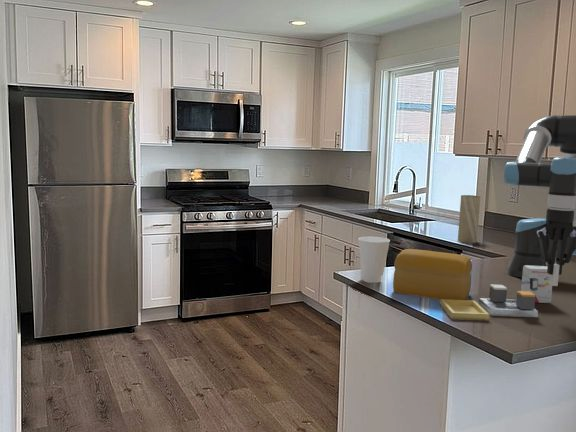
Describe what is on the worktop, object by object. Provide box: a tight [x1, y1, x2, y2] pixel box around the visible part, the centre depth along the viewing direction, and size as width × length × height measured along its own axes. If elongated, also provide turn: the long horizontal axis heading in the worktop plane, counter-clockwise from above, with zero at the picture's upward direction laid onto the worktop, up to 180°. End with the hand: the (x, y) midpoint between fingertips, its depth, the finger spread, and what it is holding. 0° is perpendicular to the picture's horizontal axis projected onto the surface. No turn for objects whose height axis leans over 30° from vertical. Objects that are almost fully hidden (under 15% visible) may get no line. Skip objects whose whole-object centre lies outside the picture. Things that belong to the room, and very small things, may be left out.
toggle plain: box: [488, 283, 508, 302], centre depth 174 cm, size 4×4×5 cm
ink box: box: [520, 265, 553, 304], centre depth 181 cm, size 9×5×12 cm, turn 90°
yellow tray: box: [439, 299, 490, 322], centre depth 167 cm, size 11×14×2 cm
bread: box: [392, 248, 473, 301], centre depth 187 cm, size 24×13×15 cm, turn 62°
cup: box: [357, 236, 391, 284], centre depth 202 cm, size 12×12×16 cm
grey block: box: [516, 290, 536, 309], centre depth 166 cm, size 4×4×5 cm
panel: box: [478, 297, 539, 318], centre depth 171 cm, size 14×12×2 cm
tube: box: [457, 194, 481, 244], centre depth 292 cm, size 10×10×25 cm
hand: (553, 284), depth 165 cm, fingers closed
